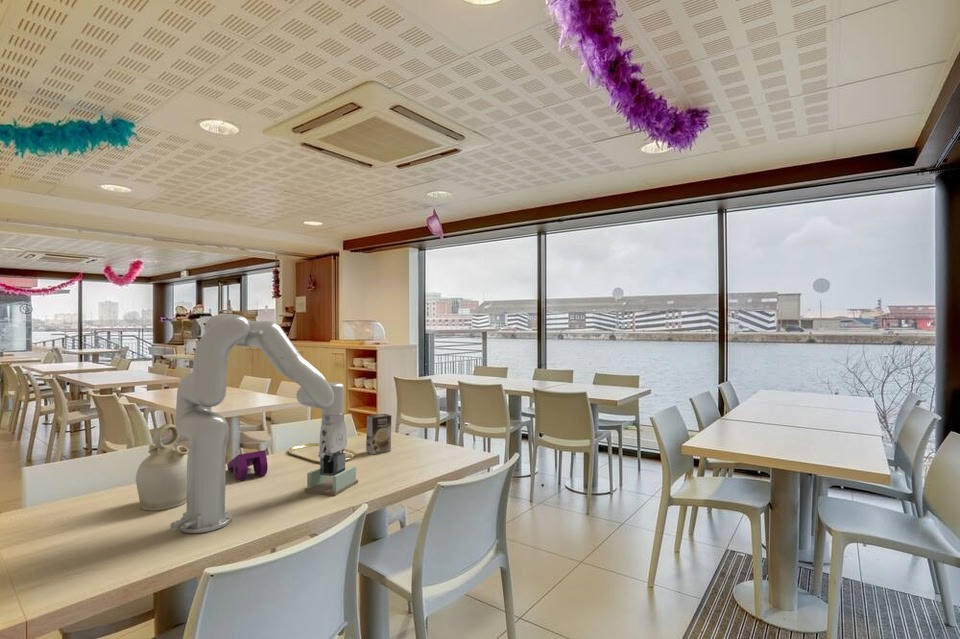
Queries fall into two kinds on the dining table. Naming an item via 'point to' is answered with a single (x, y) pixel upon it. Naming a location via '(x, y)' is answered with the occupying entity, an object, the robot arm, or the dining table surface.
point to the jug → (163, 473)
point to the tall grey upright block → (334, 464)
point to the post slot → (330, 482)
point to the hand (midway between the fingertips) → (332, 470)
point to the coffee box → (378, 433)
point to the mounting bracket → (249, 464)
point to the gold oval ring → (311, 446)
